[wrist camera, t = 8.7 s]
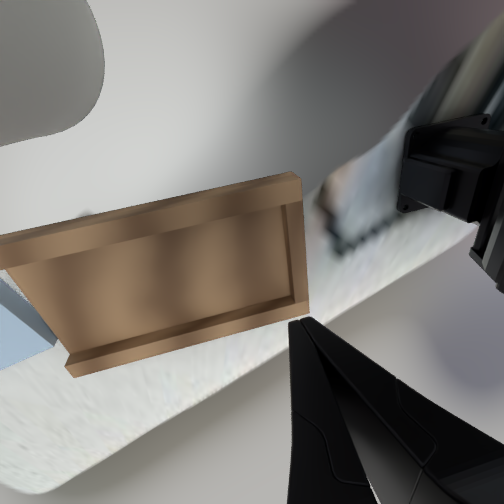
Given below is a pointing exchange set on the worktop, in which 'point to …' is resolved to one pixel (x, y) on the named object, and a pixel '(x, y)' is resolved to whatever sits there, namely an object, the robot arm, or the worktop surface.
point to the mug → (47, 67)
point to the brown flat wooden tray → (166, 271)
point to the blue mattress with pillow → (20, 328)
